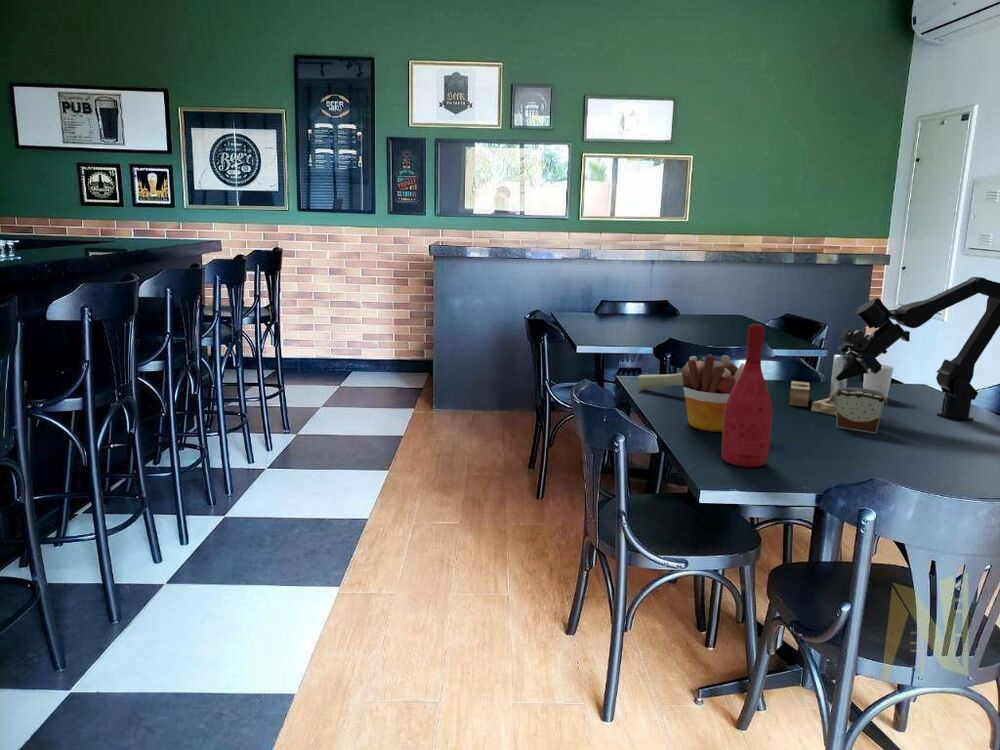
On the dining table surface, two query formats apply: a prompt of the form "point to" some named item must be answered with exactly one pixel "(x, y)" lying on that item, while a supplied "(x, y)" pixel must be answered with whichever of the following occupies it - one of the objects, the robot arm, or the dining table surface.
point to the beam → (799, 393)
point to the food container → (859, 409)
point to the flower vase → (659, 380)
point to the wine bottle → (748, 410)
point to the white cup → (879, 379)
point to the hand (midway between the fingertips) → (834, 378)
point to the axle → (838, 366)
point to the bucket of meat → (708, 390)
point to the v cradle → (825, 407)
